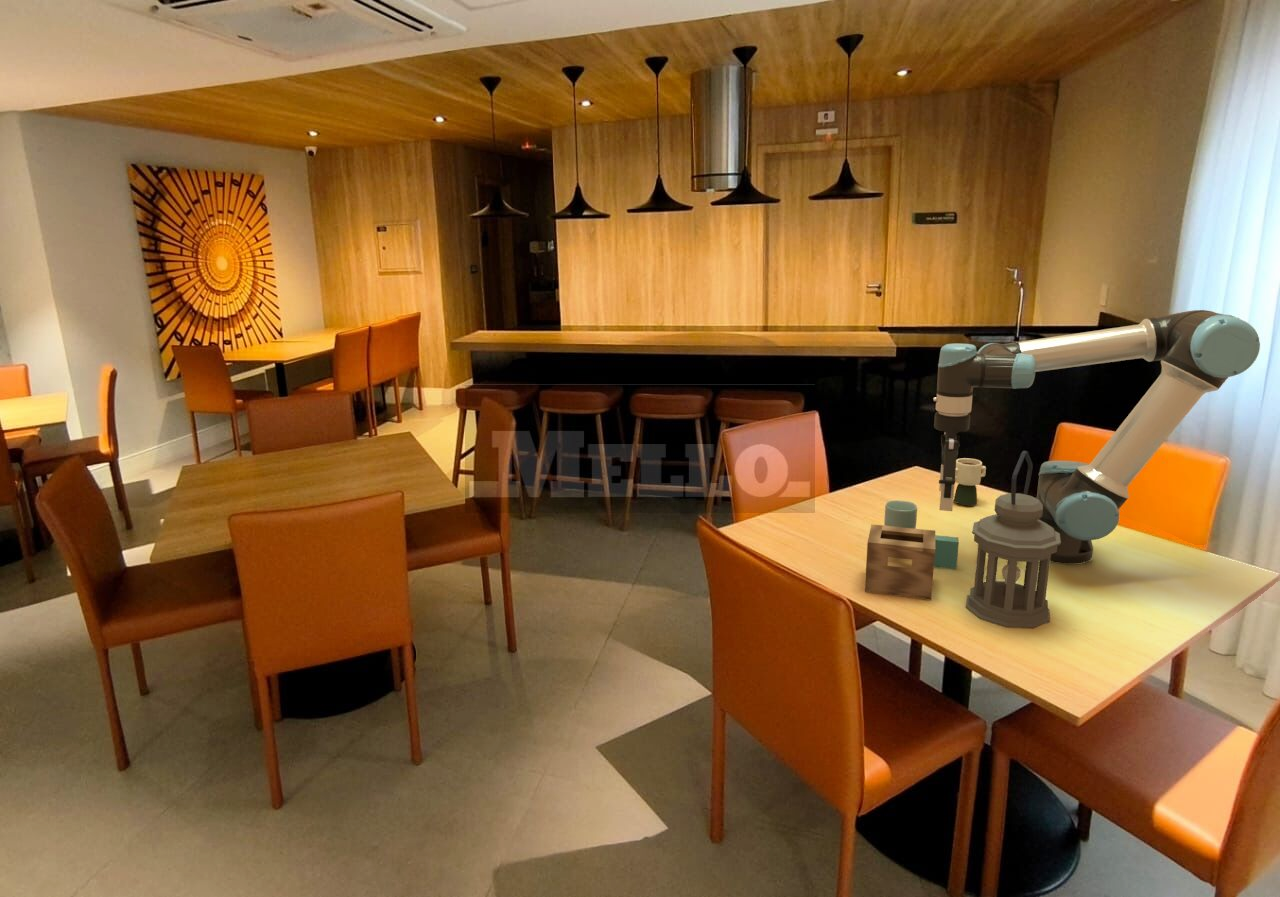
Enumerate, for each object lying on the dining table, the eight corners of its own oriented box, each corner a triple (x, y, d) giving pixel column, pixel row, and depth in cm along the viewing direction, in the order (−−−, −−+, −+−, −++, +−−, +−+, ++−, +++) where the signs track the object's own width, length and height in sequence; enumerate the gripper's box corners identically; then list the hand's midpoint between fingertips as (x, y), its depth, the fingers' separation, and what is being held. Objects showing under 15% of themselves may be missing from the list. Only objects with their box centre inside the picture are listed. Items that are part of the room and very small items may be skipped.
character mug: (975, 498, 224) (979, 456, 221) (989, 506, 217) (993, 463, 214) (941, 501, 223) (944, 459, 219) (954, 509, 216) (958, 466, 212)
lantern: (973, 584, 171) (988, 436, 161) (1056, 602, 162) (1077, 446, 152) (955, 615, 158) (970, 455, 148) (1045, 637, 148) (1067, 468, 139)
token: (955, 564, 181) (958, 537, 180) (956, 569, 179) (958, 542, 177) (925, 560, 184) (927, 534, 182) (924, 565, 181) (926, 538, 179)
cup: (916, 548, 191) (919, 511, 188) (884, 546, 193) (887, 510, 190) (912, 536, 198) (915, 500, 196) (881, 535, 200) (883, 499, 197)
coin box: (931, 578, 174) (935, 530, 171) (931, 600, 164) (935, 549, 161) (868, 571, 179) (871, 524, 176) (864, 591, 169) (867, 542, 166)
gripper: (935, 400, 183) (928, 482, 189) (935, 424, 161) (927, 517, 167) (968, 401, 181) (961, 485, 187) (973, 426, 159) (964, 520, 164)
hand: (945, 500), depth 177 cm, fingers open, 13 cm apart
